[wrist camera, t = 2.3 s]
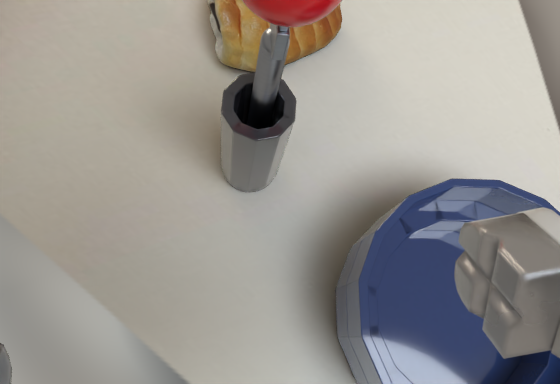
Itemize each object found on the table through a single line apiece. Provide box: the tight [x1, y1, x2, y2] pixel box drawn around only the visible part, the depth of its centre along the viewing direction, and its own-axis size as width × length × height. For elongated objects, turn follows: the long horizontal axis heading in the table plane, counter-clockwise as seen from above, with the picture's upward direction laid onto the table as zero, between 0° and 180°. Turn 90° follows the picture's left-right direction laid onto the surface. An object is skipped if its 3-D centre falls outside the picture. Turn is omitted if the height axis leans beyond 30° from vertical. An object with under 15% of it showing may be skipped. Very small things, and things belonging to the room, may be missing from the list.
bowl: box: [336, 179, 560, 384], centre depth 28 cm, size 14×14×6 cm
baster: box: [242, 0, 342, 129], centre depth 23 cm, size 4×4×19 cm
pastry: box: [207, 0, 342, 72], centre depth 34 cm, size 9×7×4 cm
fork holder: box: [221, 73, 296, 192], centre depth 28 cm, size 4×4×9 cm
